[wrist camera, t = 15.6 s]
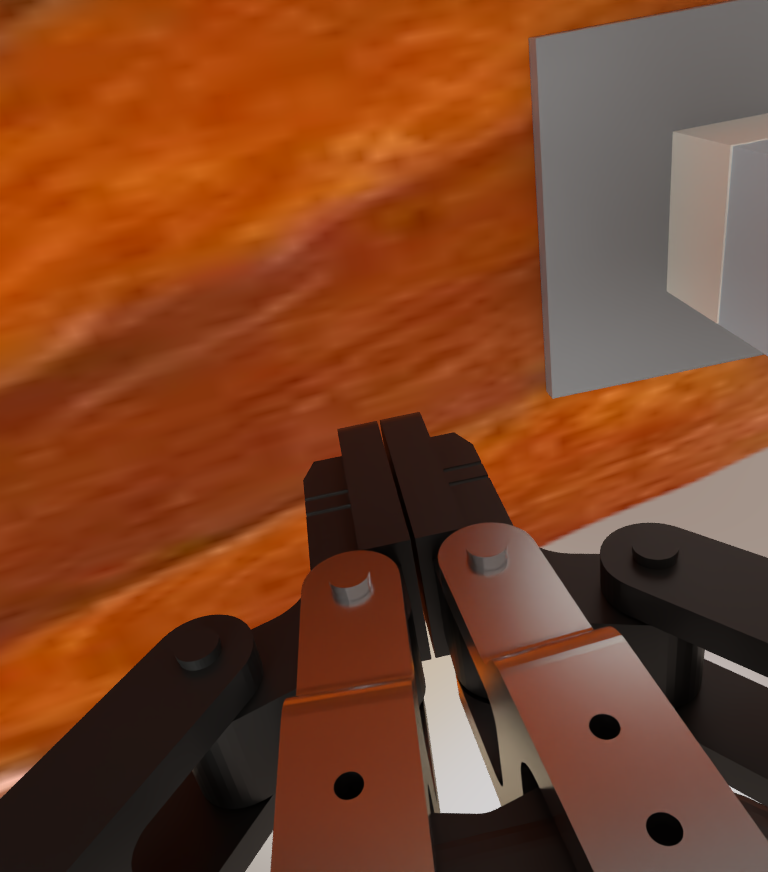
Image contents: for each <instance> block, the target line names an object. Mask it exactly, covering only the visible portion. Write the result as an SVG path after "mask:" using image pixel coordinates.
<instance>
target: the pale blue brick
mask: <svg viewBox="0 0 768 872" xmlns="http://www.w3.org/2000/svg"><path fill="white" fill-rule="evenodd" d="M719 325H720V326H722V327H723V328H725V329H727V330H728V331H730V332H731V333H733V334H734V335H736V336H737V337H739V338H740V339H742V340H744V341H745V342H747V343H748V344H750V345H751V346H753V347H754V348H756V349H758V350H759V351H761V352H762V353H764V354H765V355H767V356H768V140H763V141H757V142H752V143H747V144H742V145H736V146H733V152H732V164H731V177H730V189H729V201H728V213H727V226H726V238H725V250H724V262H723V275H722V287H721V299H720V311H719Z"/></svg>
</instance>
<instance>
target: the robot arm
mask: <svg viewBox="0 0 768 872" xmlns="http://www.w3.org/2000/svg"><path fill="white" fill-rule="evenodd" d="M380 425H381V431H382V437H383V441H382V437H381V434H380V430H379V427H378V423H377V421H374V422H369V423H365V424H360V425H355V426H350V427H345V428H340V429H337V430H338V436H339V441H340V447H341V453H342V456H340V457H335V458H330V459H326V460H321V461H316V462H314V463H313V464H312V466H311V468H310V470H309V471H308V473H307V475H306V477H305V478H304V480H303V482H304V494H305V507H306V515H307V517H306V519H307V532H308V544H309V557H310V569H311V571H310V573H309V574H308V575H307V577H306V578H305V580H304V582H303V585H302V590H301V598H300V600H299V601H298V602H297V603H296V604H295V605H294V606H292V607H291V608H290V609H289V610H287V611H286V612H285V613H283V614H282V615H280V616H278V617H276V618H274V619H273V620H270V621H268V622H266V623H264V624H262V625H260V626H258V627H256V628H254V629H252V630H250V628H249V627H248V625H247V624H246V623H244V622H243V621H242V620H240V619H238V618H236V617H233V616H229V615H209V616H203V617H200V618H196V619H193V620H191V621H189V622H186V623H184V624H182V625H180V626H179V627H177V628H175V629H174V630H173V631H171V632H170V633H168V634H167V635H166V636H165V637H164V638H163V639H162V640H161V641H160V642H159V643H158V644H157V645H156V646H155V647H154V648H153V649H152V650H151V651H150V652H149V653H148V654H147V655H146V656H145V657H143V658H142V659H141V660H140V661H139V662H138V663H137V664H136V665H135V666H134V667H133V668H132V669H131V670H130V671H129V672H128V673H127V674H126V675H125V676H124V677H123V678H122V679H121V680H120V681H119V682H118V683H117V684H116V685H115V686H114V687H113V688H112V689H111V690H110V691H109V692H108V693H107V694H106V695H105V696H104V697H103V698H102V699H101V700H100V701H99V702H98V703H97V704H96V705H95V706H94V707H93V708H92V709H91V710H90V711H89V712H88V713H87V714H86V715H85V716H84V717H83V718H82V719H81V720H80V721H79V722H78V723H77V724H76V725H75V726H74V727H73V728H72V729H71V730H70V731H69V732H68V733H67V734H66V735H65V736H64V737H63V738H62V739H61V740H59V741H58V742H57V743H56V744H55V745H54V746H53V747H52V748H51V749H50V750H49V751H48V752H47V753H46V754H45V755H44V756H43V757H42V758H41V759H40V760H39V761H38V762H37V763H36V764H35V765H34V766H33V767H32V768H31V769H30V770H29V771H28V772H27V773H26V774H25V775H24V776H23V777H22V778H21V779H20V780H19V781H18V782H17V783H16V784H15V785H14V786H13V787H12V788H11V789H10V790H9V791H8V792H7V793H6V794H5V795H4V796H3V797H2V798H1V799H0V872H245V871H246V869H247V868H248V866H249V865H250V864H251V862H252V861H253V859H254V858H255V856H256V855H257V853H258V852H259V850H260V849H261V847H262V846H263V844H264V843H265V841H266V840H267V838H268V837H269V835H270V834H271V833H272V831H273V842H272V857H271V858H272V859H271V872H768V688H767V687H765V686H763V685H761V684H758V683H756V682H754V681H752V680H750V679H747V678H745V677H743V676H741V675H739V674H736V673H734V672H732V671H730V670H728V669H725V668H723V667H721V666H719V665H717V664H714V663H712V662H710V661H707V660H705V659H704V651H705V650H707V651H709V652H712V653H714V654H716V655H719V656H721V657H723V658H725V659H727V660H730V661H732V662H734V663H737V664H739V665H741V666H743V667H746V668H748V669H750V670H752V671H755V672H757V673H759V674H761V675H764V676H766V677H768V558H766V557H763V556H760V555H757V554H754V553H752V552H749V551H746V550H743V549H740V548H737V547H734V546H731V545H728V544H725V543H722V542H719V541H717V540H714V539H710V538H708V537H705V536H702V535H699V534H696V533H693V532H690V531H687V530H684V529H681V528H678V527H675V526H671V525H666V524H660V523H640V524H633V525H629V526H625V527H623V528H620V529H618V530H616V531H615V532H613V533H611V534H610V535H609V536H608V537H607V538H606V539H605V540H604V542H603V544H602V546H601V549H600V554H567V553H557V552H552V551H548V550H545V549H542V548H539V547H538V546H537V544H536V543H535V541H534V540H533V539H532V537H531V536H530V535H529V534H527V533H526V532H525V531H523V530H521V529H519V528H517V527H515V526H513V524H512V522H511V520H510V518H509V516H508V514H507V512H506V510H505V508H504V506H503V504H502V502H501V500H500V498H499V496H498V494H497V492H496V490H495V488H494V486H493V484H492V482H491V480H490V478H488V474H487V472H486V470H485V468H484V466H483V464H481V460H480V458H479V456H478V454H477V452H476V450H475V448H474V446H473V444H471V443H470V442H468V441H467V440H465V439H463V438H462V437H460V436H459V435H457V434H456V433H449V434H444V435H439V436H435V437H430V436H429V434H428V431H427V429H426V426H425V424H424V421H423V419H422V416H421V414H420V412H417V413H412V414H407V415H402V416H398V417H393V418H388V419H383V420H380ZM383 442H384V444H383ZM423 613H424V614H423ZM424 616H425V620H426V624H427V627H428V631H429V635H430V638H431V642H432V646H433V650H434V653H435V657H436V658H437V657H442V656H446V655H451V658H452V662H453V665H454V669H455V673H456V679H457V686H458V691H459V697H460V700H461V703H462V706H463V708H464V711H465V713H466V716H467V719H468V721H469V724H470V726H471V729H472V731H473V734H474V737H475V739H476V741H477V744H478V747H479V749H480V752H481V754H482V757H483V760H484V762H485V765H486V767H487V770H488V773H489V775H490V778H491V780H492V782H493V785H494V788H495V790H496V793H497V796H498V798H499V801H500V804H501V806H502V807H500V808H498V809H496V810H493V811H491V812H488V813H483V814H459V813H458V814H457V813H456V814H455V813H440V808H439V800H438V793H437V786H436V778H435V772H434V764H433V758H432V750H431V743H430V736H429V729H428V722H427V716H426V715H427V714H426V708H425V703H424V695H425V688H426V686H425V678H424V673H423V668H422V662H421V661H425V660H430V659H431V654H430V648H429V642H428V637H427V631H426V625H425V620H424ZM729 786H731V787H732V788H734V789H736V790H738V791H740V792H741V793H743V794H745V795H747V796H749V797H751V798H752V799H754V800H756V801H758V802H760V803H761V804H760V803H758V802H756V801H754V800H751V799H749V798H747V797H745V796H742V795H739V794H737V793H734V792H733V791H732V790H731V788H730V787H729Z"/></svg>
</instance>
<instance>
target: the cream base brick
mask: <svg viewBox="0 0 768 872" xmlns="http://www.w3.org/2000/svg"><path fill="white" fill-rule="evenodd" d="M763 140H768V113H766V114H761V115H756V116H751V117H746V118H740V119H735V120H730V121H725V122H720V123H715V124H709V125H704V126H699V127H694V128H689V129H684V130H678V131H673V139H672V165H671V191H670V216H669V242H668V268H667V292H668V293H670V294H672V295H673V296H675V297H676V298H678V299H679V300H681V301H682V302H684V303H686V304H687V305H689V306H690V307H692V308H693V309H695V310H696V311H698V312H700V313H701V314H703V315H704V316H706V317H707V318H709V319H710V320H712V321H714V322H715V323H717V324H718V323H719V311H720V299H721V287H722V275H723V262H724V250H725V238H726V226H727V213H728V201H729V189H730V177H731V164H732V152H733V146H736V145H742V144H747V143H752V142H757V141H763Z"/></svg>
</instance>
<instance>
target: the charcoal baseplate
mask: <svg viewBox="0 0 768 872" xmlns="http://www.w3.org/2000/svg"><path fill="white" fill-rule="evenodd" d="M529 56H530V75H531V95H532V115H533V134H534V154H535V174H536V193H537V213H538V233H539V252H540V272H541V292H542V311H543V331H544V351H545V370H546V390H547V392H548V393H549V395H550V396H551V397H552V399H553V398H558V397H562V396H567V395H572V394H577V393H581V392H586V391H591V390H596V389H601V388H605V387H610V386H615V385H620V384H625V383H629V382H634V381H639V380H644V379H649V378H653V377H658V376H663V375H668V374H673V373H677V372H682V371H687V370H692V369H697V368H701V367H706V366H711V365H716V364H721V363H725V362H730V361H735V360H740V359H745V358H749V357H754V356H759V355H764V353H762V352H761V351H759V350H758V349H756V348H754V347H753V346H751V345H750V344H748V343H747V342H745V341H744V340H742V339H740V338H739V337H737V336H736V335H734V334H733V333H731V332H730V331H728V330H727V329H725V328H723V327H722V326H720V325H719V323H718V324H717V323H715V322H714V321H712V320H710V319H709V318H707V317H706V316H704V315H703V314H701V313H700V312H698V311H696V310H695V309H693V308H692V307H690V306H689V305H687V304H686V303H684V302H682V301H681V300H679V299H678V298H676V297H675V296H673V295H672V294H670V293H668V292H667V268H668V242H669V216H670V191H671V165H672V139H673V131H678V130H684V129H689V128H694V127H699V126H704V125H709V124H715V123H720V122H725V121H730V120H735V119H740V118H746V117H751V116H756V115H761V114H766V113H768V0H730V1H725V2H720V3H714V4H709V5H704V6H698V7H693V8H687V9H682V10H677V11H671V12H666V13H661V14H655V15H650V16H644V17H639V18H634V19H628V20H623V21H617V22H612V23H607V24H601V25H596V26H591V27H585V28H580V29H574V30H569V31H564V32H558V33H553V34H548V35H542V36H537V37H531V38H529Z"/></svg>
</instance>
